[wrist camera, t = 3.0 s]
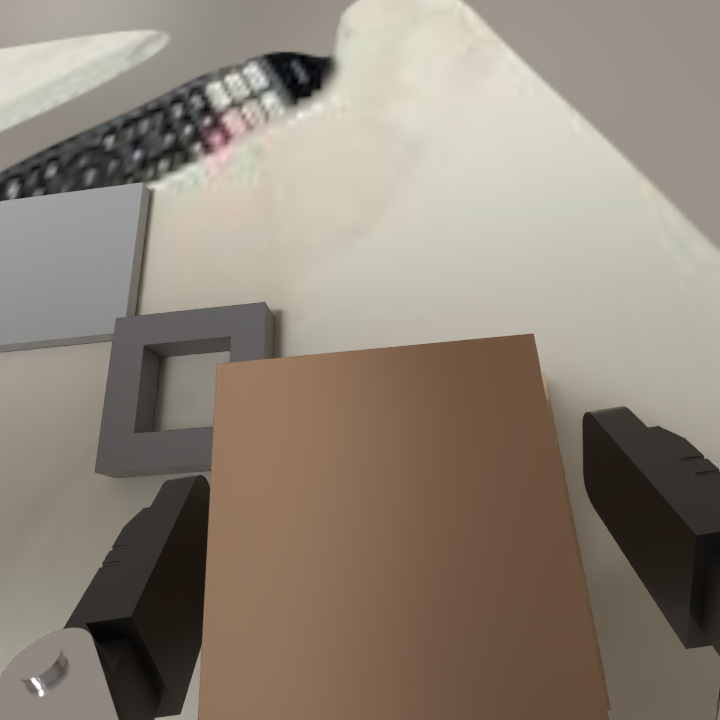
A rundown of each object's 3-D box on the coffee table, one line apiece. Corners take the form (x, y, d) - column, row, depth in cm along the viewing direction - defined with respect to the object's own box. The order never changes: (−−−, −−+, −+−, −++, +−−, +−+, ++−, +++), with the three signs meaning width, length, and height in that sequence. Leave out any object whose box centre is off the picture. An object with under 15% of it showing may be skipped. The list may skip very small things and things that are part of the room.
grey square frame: (115, 478, 18) (94, 472, 17) (133, 331, 20) (115, 317, 19) (272, 466, 17) (262, 459, 16) (274, 316, 19) (264, 302, 18)
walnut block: (349, 617, 15) (197, 733, 5) (344, 481, 17) (216, 363, 7) (485, 611, 15) (610, 724, 5) (467, 473, 16) (532, 333, 6)
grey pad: (-35, 355, 20) (-48, 349, 20) (1, 211, 23) (-10, 202, 22) (132, 338, 20) (123, 332, 19) (150, 191, 22) (143, 182, 22)
